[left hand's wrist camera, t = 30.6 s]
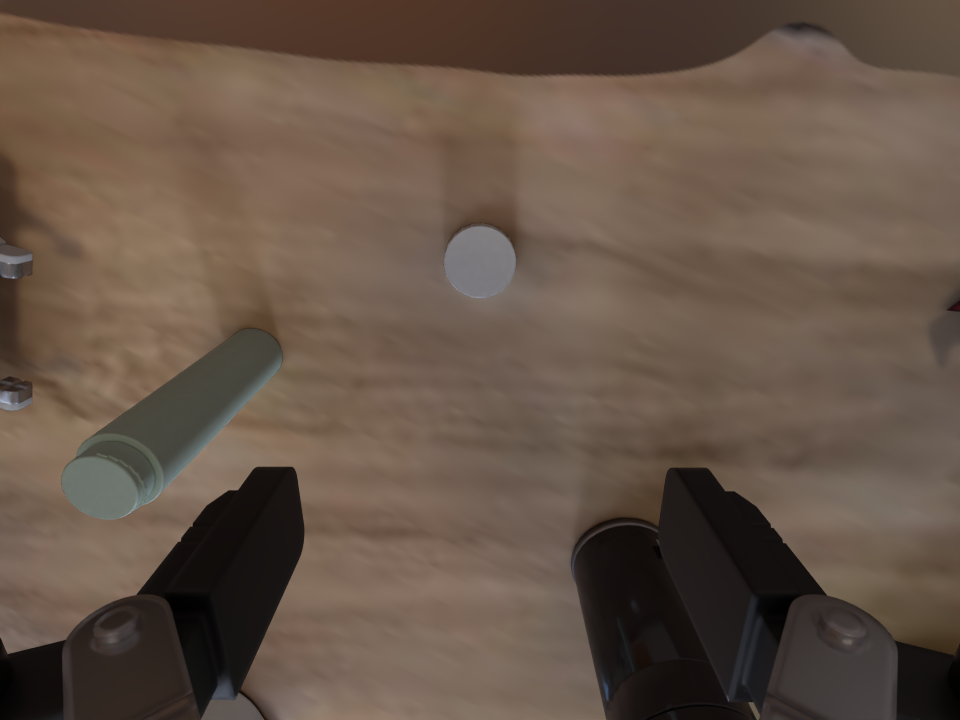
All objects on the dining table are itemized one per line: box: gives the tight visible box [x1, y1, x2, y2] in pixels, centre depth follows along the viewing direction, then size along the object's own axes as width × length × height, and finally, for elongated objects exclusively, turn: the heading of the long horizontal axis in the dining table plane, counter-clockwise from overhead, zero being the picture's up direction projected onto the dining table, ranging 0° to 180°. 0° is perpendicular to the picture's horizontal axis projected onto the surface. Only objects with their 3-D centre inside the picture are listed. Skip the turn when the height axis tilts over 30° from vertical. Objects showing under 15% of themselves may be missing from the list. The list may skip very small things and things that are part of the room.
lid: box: [444, 222, 517, 298], centre depth 38 cm, size 5×5×2 cm
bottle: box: [61, 328, 282, 519], centre depth 33 cm, size 4×4×18 cm
